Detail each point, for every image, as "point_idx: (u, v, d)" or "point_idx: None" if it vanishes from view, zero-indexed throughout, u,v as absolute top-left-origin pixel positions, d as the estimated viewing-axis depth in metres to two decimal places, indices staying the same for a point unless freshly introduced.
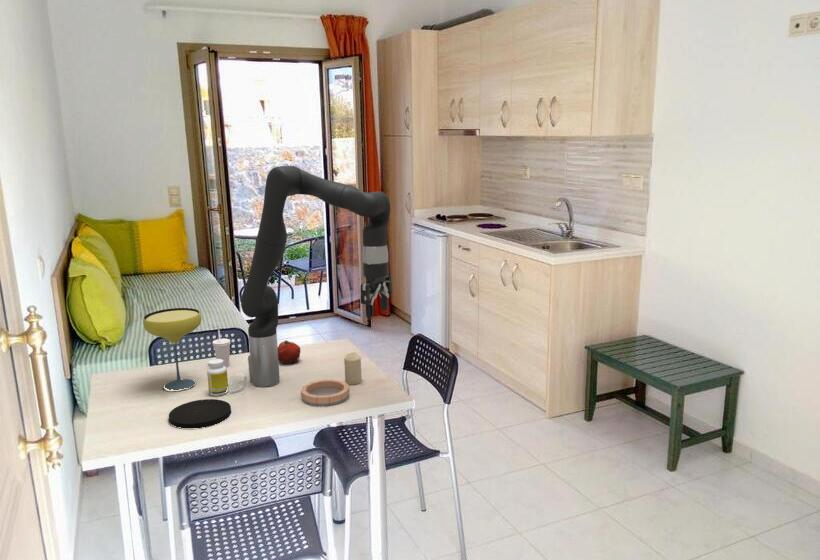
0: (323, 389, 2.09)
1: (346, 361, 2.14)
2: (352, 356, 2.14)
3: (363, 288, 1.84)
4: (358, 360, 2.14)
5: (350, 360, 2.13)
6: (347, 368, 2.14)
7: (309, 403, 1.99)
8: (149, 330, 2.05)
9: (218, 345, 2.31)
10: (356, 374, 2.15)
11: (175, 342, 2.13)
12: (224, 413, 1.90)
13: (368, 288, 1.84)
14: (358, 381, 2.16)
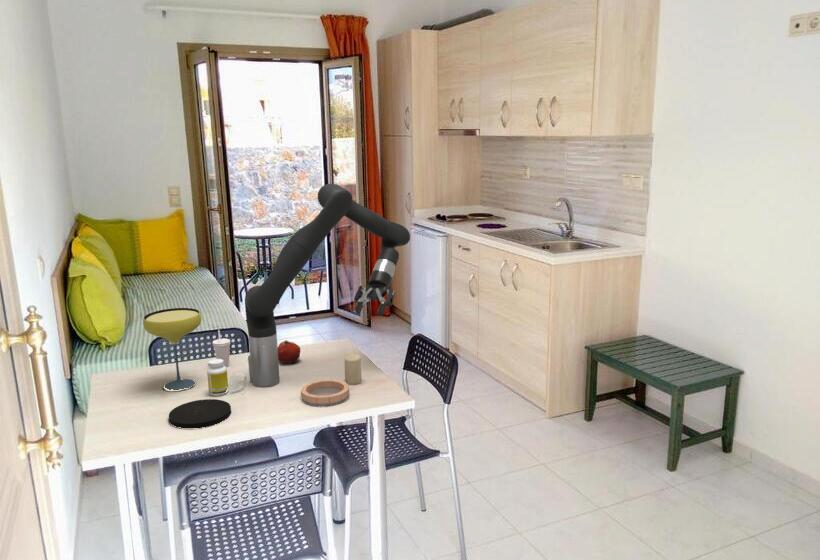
0: (323, 389, 2.09)
1: (346, 361, 2.14)
2: (352, 356, 2.14)
3: (393, 292, 2.23)
4: (358, 360, 2.14)
5: (350, 360, 2.13)
6: (347, 368, 2.14)
7: (309, 403, 1.99)
8: (149, 330, 2.05)
9: (218, 345, 2.31)
10: (356, 374, 2.15)
11: (175, 342, 2.13)
12: (224, 413, 1.90)
13: None
14: (358, 381, 2.16)
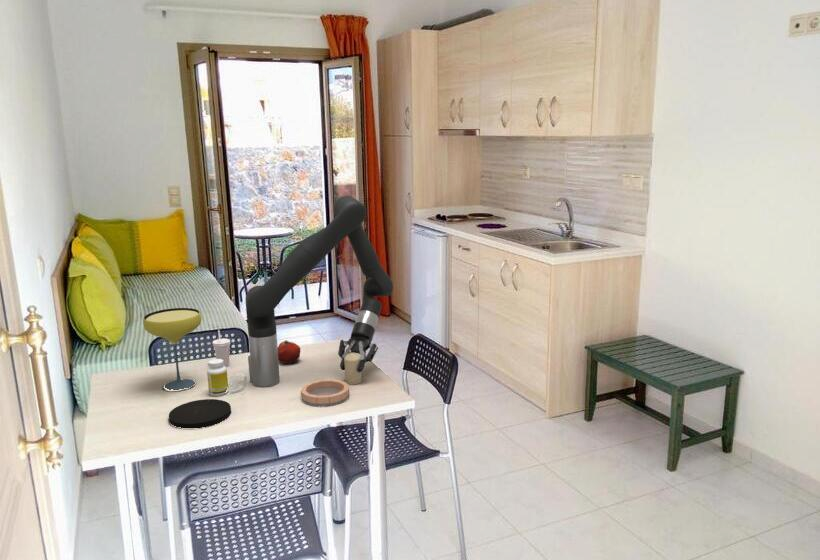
0: (323, 389, 2.09)
1: (346, 361, 2.14)
2: (352, 356, 2.14)
3: (375, 348, 2.17)
4: (358, 360, 2.14)
5: (350, 360, 2.13)
6: (347, 368, 2.14)
7: (309, 403, 1.99)
8: (149, 330, 2.05)
9: (218, 345, 2.31)
10: (356, 374, 2.15)
11: (175, 342, 2.13)
12: (224, 413, 1.90)
13: None
14: (358, 381, 2.16)
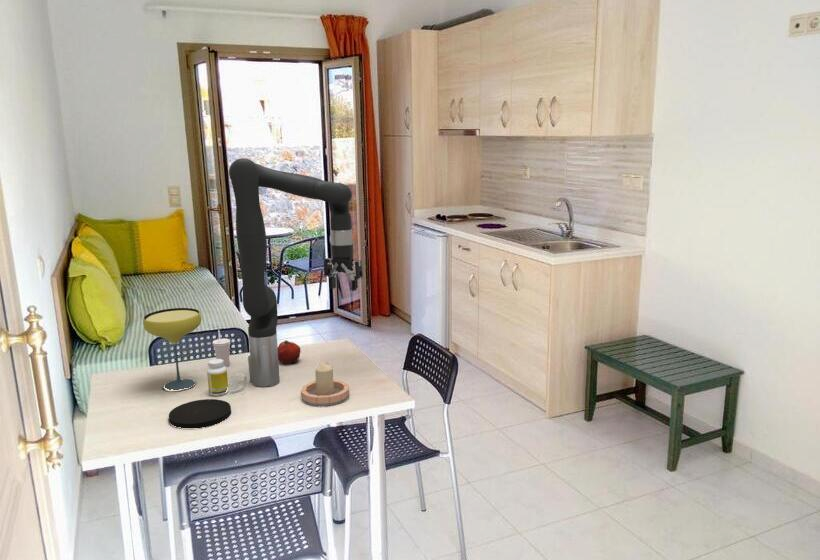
0: None
1: (317, 372, 2.02)
2: (323, 367, 2.01)
3: (359, 264, 2.15)
4: (330, 371, 2.02)
5: (321, 371, 2.01)
6: (318, 379, 2.02)
7: (309, 403, 1.99)
8: (149, 330, 2.05)
9: (218, 345, 2.31)
10: (328, 385, 2.02)
11: (175, 342, 2.13)
12: (224, 413, 1.90)
13: None
14: (330, 393, 2.03)
